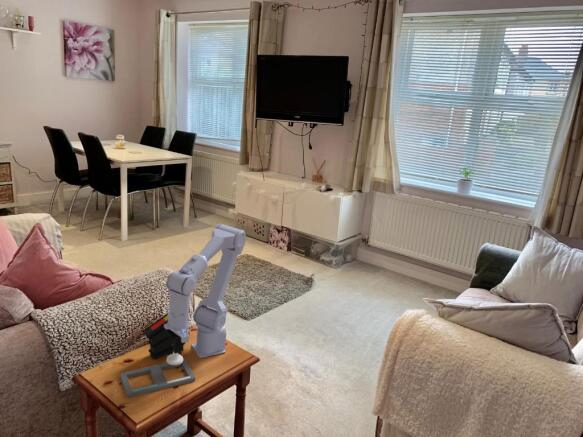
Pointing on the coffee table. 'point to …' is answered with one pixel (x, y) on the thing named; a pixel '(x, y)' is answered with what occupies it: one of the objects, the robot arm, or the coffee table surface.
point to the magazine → (159, 338)
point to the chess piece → (174, 359)
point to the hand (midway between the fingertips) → (176, 350)
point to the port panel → (155, 378)
